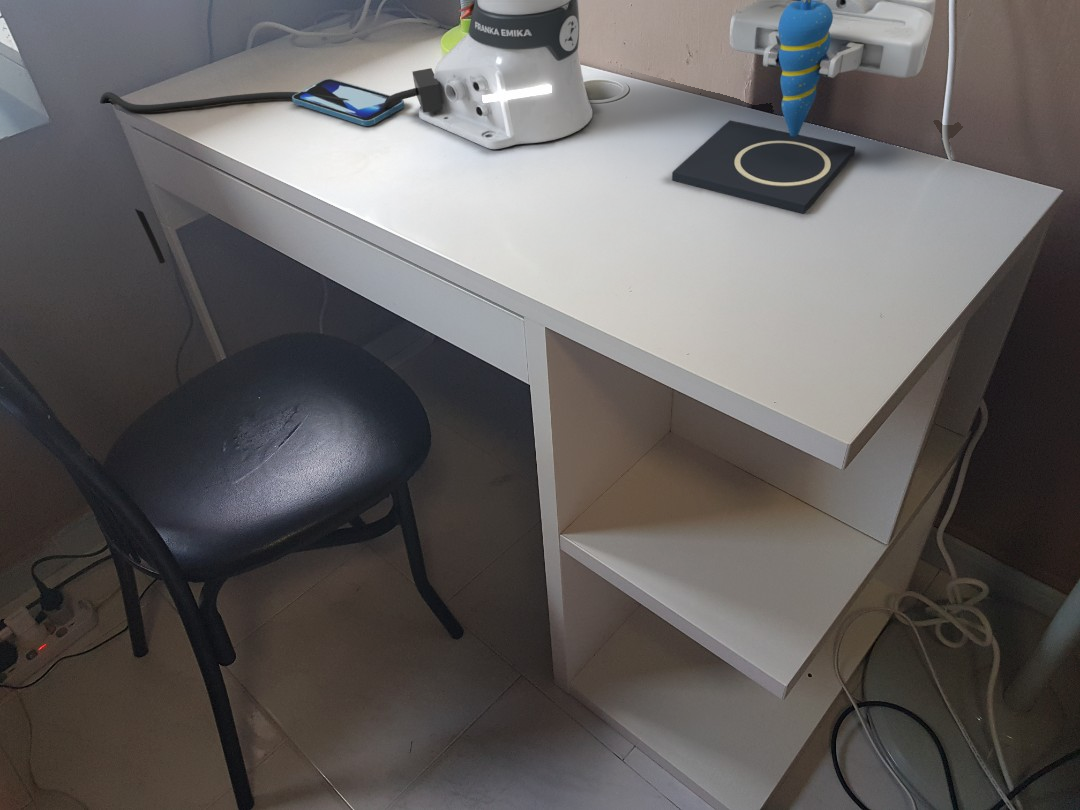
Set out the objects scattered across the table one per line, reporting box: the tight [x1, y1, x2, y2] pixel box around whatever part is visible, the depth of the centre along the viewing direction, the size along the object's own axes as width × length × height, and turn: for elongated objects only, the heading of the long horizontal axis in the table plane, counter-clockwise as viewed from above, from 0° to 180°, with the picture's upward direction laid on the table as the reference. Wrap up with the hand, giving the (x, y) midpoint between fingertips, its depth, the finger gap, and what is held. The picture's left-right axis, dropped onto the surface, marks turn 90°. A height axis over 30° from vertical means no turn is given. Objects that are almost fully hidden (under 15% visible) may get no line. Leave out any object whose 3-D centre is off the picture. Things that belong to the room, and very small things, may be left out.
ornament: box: [778, 0, 833, 137], centre depth 84 cm, size 5×5×15 cm
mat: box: [671, 119, 856, 214], centre depth 91 cm, size 15×14×1 cm
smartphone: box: [291, 78, 405, 127], centre depth 112 cm, size 7×1×15 cm
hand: (798, 64), depth 84 cm, fingers closed on ornament, 4 cm apart
